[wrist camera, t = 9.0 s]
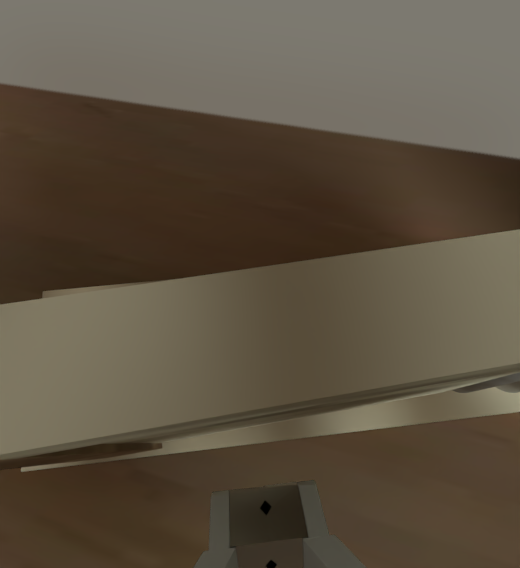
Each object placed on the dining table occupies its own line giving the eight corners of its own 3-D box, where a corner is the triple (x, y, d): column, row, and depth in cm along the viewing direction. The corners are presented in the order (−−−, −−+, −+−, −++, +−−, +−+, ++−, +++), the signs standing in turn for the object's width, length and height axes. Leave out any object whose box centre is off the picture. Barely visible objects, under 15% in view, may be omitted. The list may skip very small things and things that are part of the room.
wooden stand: (497, 256, 21) (898, -47, 8) (556, 407, 18) (1378, 313, 5) (52, 298, 19) (-347, 10, 6) (33, 470, 16) (-811, 579, 3)
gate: (471, 344, 17) (835, 183, 6) (489, 389, 16) (933, 289, 6) (111, 406, 16) (-182, 330, 5) (112, 457, 15) (-231, 495, 4)
